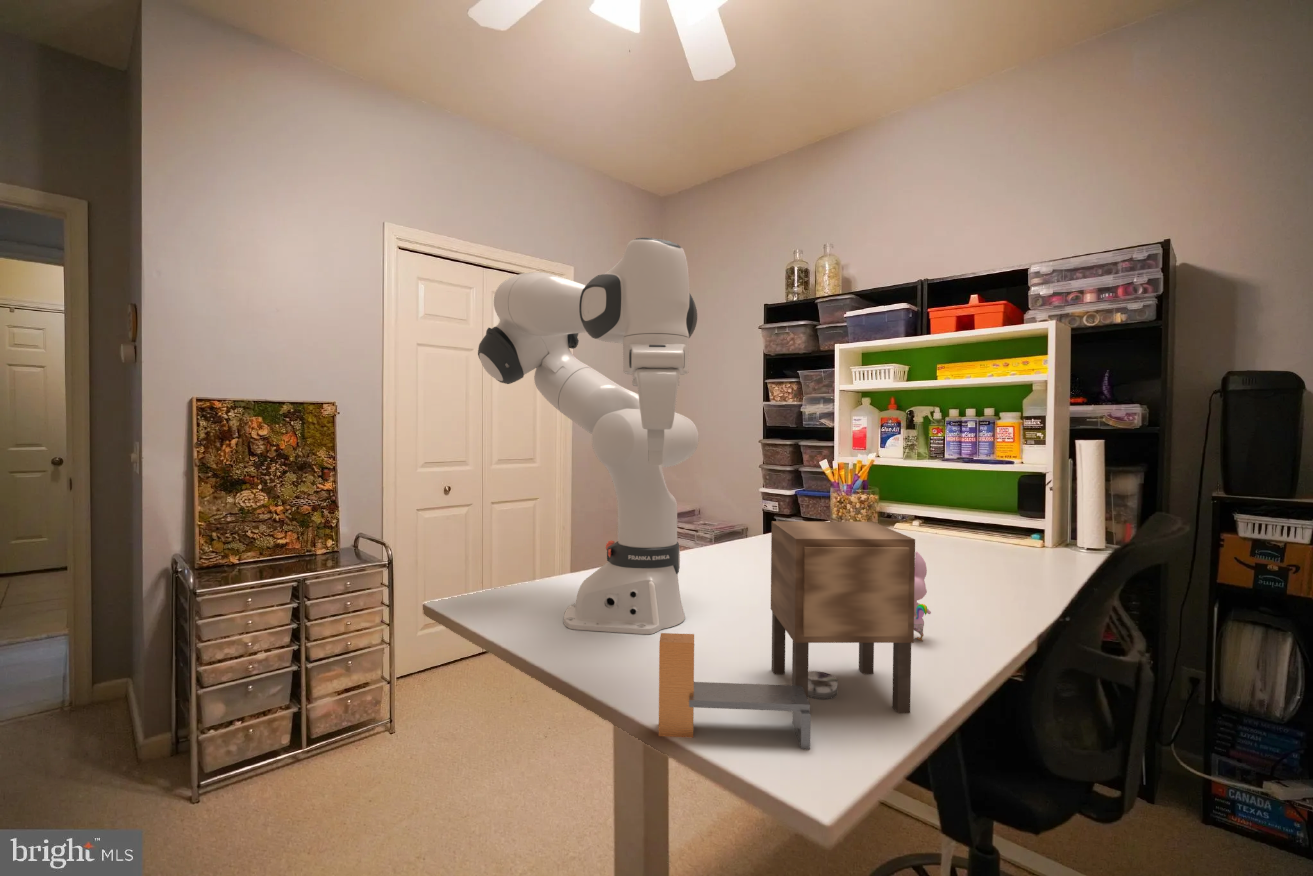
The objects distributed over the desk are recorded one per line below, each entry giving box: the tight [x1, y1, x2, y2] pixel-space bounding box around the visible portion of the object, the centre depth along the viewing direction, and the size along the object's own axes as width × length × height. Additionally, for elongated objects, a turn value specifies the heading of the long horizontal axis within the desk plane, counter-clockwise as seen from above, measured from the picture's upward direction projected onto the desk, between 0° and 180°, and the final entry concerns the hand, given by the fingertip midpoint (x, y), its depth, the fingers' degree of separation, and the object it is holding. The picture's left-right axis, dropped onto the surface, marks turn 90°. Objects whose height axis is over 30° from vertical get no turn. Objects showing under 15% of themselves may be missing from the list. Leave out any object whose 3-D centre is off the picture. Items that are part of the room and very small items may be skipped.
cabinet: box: [770, 520, 916, 714], centre depth 82 cm, size 15×15×22 cm
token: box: [808, 670, 839, 701], centre depth 82 cm, size 5×5×2 cm
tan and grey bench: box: [658, 632, 812, 751], centre depth 71 cm, size 17×6×11 cm, turn 86°
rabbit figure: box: [914, 551, 932, 642], centre depth 101 cm, size 6×6×15 cm
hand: (655, 463), depth 81 cm, fingers open, 3 cm apart
